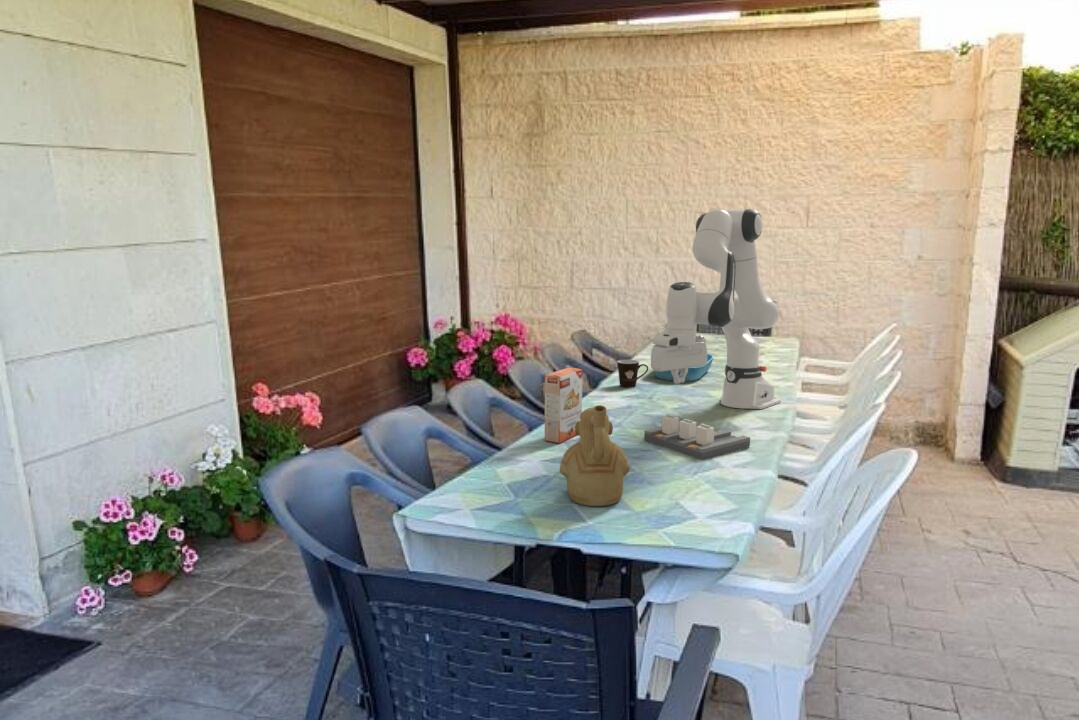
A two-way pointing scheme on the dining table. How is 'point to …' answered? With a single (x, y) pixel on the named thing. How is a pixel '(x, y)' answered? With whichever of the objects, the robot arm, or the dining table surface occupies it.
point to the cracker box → (562, 404)
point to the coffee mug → (629, 372)
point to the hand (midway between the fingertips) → (679, 383)
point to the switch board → (689, 446)
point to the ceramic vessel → (594, 461)
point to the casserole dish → (692, 372)
